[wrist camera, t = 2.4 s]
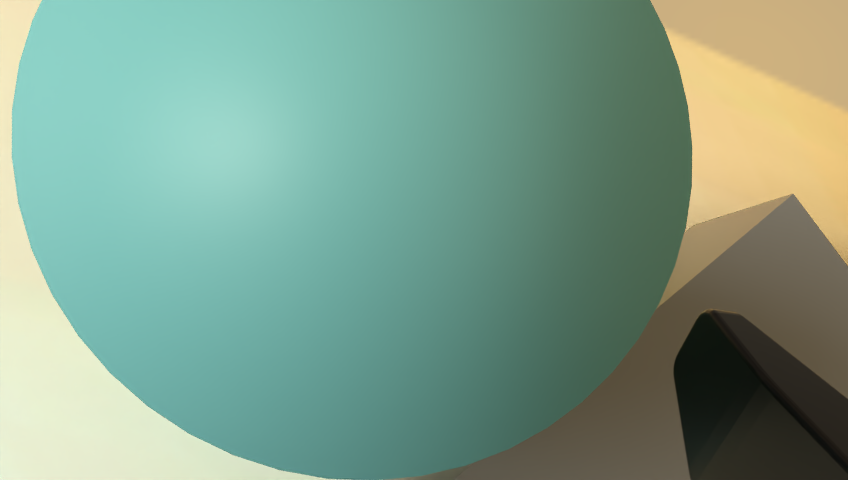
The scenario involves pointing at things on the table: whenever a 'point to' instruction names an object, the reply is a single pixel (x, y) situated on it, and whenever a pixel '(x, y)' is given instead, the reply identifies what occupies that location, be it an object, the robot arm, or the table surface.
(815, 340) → the keyhole plate
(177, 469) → the table surface
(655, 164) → the peg
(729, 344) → the robot arm
